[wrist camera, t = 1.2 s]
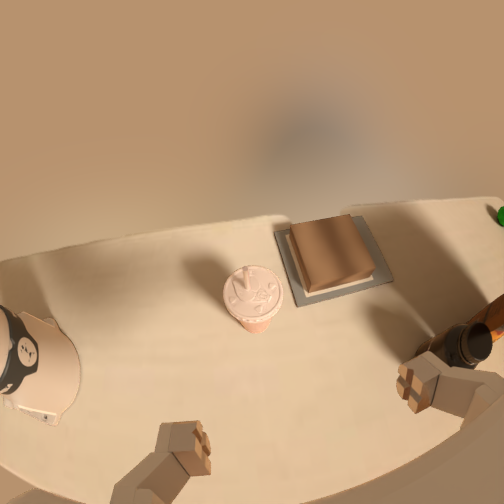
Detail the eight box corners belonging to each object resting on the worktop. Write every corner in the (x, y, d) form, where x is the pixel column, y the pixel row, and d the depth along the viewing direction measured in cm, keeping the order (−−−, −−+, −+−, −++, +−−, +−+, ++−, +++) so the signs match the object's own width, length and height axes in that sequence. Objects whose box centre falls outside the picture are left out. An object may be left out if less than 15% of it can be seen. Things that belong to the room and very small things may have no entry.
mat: (297, 307, 37) (297, 306, 37) (274, 233, 44) (274, 231, 44) (393, 280, 38) (394, 279, 38) (361, 217, 45) (361, 215, 45)
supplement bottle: (411, 342, 33) (457, 312, 23) (445, 340, 32) (494, 310, 22) (411, 388, 29) (463, 372, 19) (447, 383, 28) (500, 365, 18)
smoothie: (246, 291, 39) (237, 232, 27) (287, 310, 37) (297, 257, 25) (223, 329, 36) (202, 285, 24) (266, 351, 34) (266, 316, 22)
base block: (308, 293, 38) (311, 283, 35) (289, 236, 43) (290, 225, 41) (369, 277, 38) (375, 267, 36) (345, 225, 44) (349, 214, 41)
